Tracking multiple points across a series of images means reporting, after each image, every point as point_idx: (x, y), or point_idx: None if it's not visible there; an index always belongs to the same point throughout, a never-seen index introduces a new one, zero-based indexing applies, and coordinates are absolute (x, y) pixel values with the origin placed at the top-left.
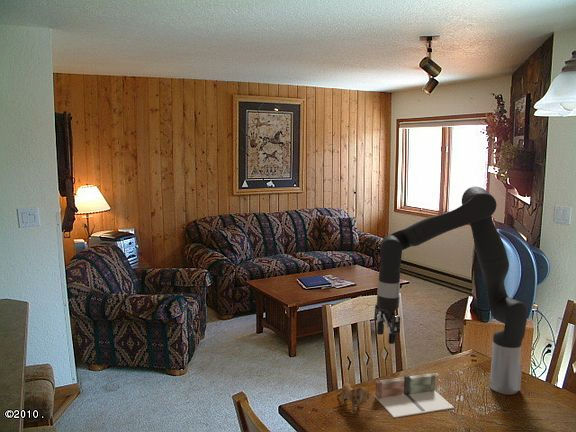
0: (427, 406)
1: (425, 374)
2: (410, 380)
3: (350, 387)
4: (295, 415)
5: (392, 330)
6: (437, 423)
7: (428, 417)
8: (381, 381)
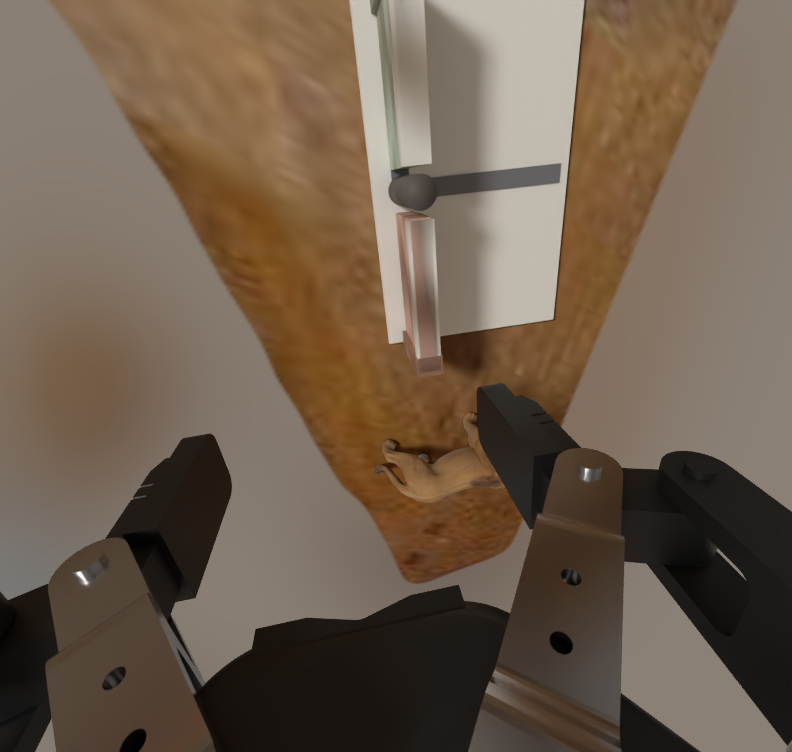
0: (533, 130)
1: (393, 7)
2: (418, 165)
3: (451, 484)
4: (451, 567)
5: (691, 580)
6: (647, 150)
7: (597, 169)
8: (430, 353)
